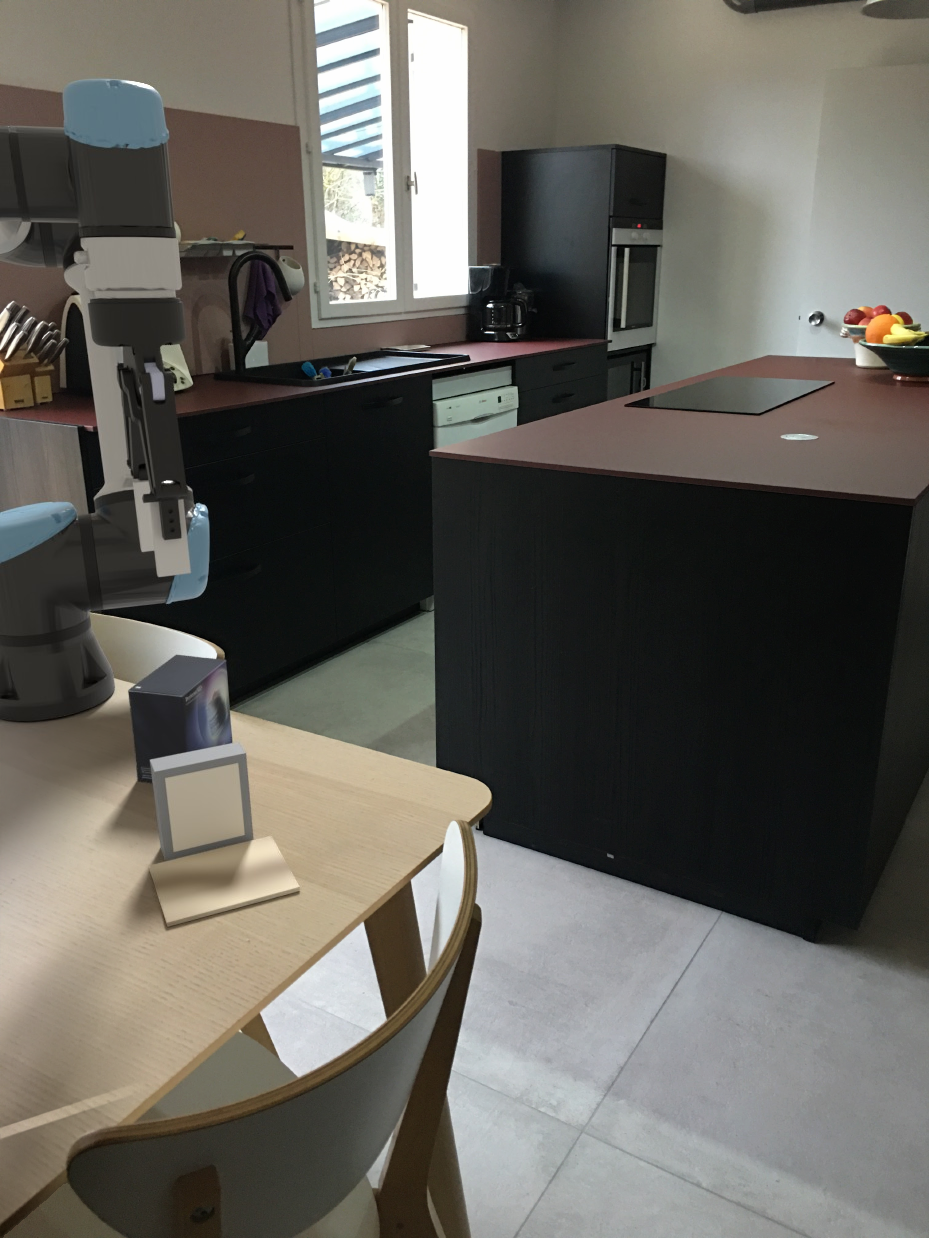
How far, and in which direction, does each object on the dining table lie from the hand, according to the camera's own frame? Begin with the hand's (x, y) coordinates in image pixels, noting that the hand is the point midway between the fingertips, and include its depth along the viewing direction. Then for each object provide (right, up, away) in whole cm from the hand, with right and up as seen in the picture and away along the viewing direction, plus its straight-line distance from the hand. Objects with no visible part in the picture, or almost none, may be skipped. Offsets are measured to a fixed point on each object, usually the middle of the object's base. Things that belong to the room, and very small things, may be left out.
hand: (164, 560), depth 87 cm
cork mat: (+6, -28, -3) cm, 29 cm away
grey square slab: (+3, -26, +2) cm, 26 cm away
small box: (-3, -21, +18) cm, 27 cm away
